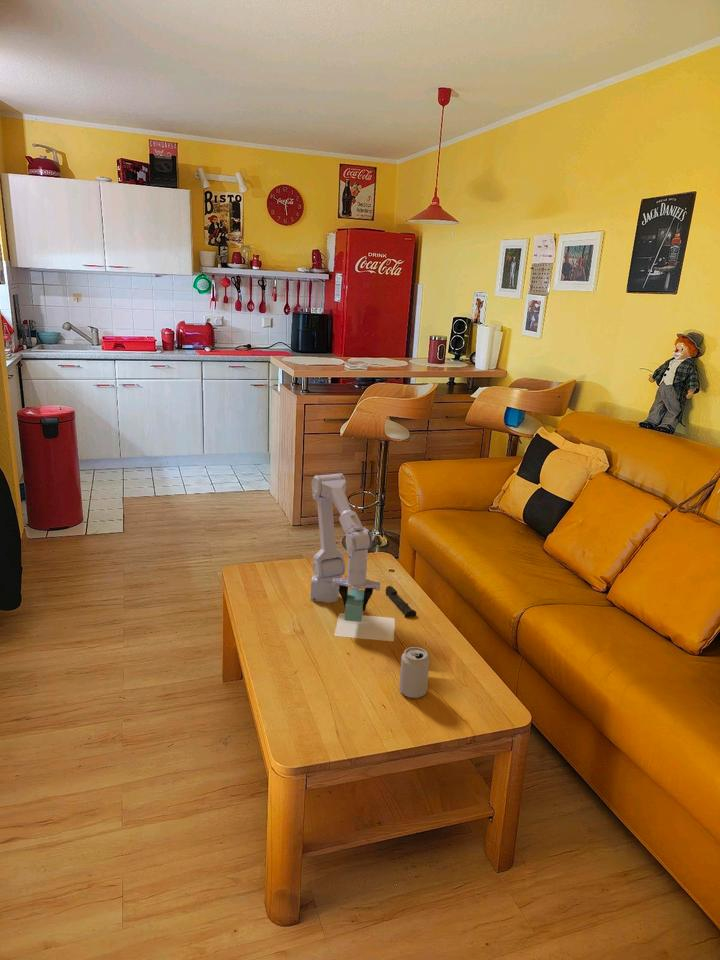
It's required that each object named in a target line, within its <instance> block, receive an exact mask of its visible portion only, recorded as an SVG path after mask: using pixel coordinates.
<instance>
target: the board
mask: <svg viewBox="0 0 720 960" xmlns="http://www.w3.org/2000/svg"><path fill="white" fill-rule="evenodd" d="M336 622H337V623H336V626H335V629H334V630H335V631H334V637H340V638H343V637H344V638H349V639H350V638H353V639H362V640H376V641H385V642H394V641H395V640H394V639H395V626H396V618H395V617H386V616H375V615H364V614H363V615H362V620H361V622H357V621H346V620H345V613H342V612H341V613H338V618H337V621H336Z"/></svg>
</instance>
